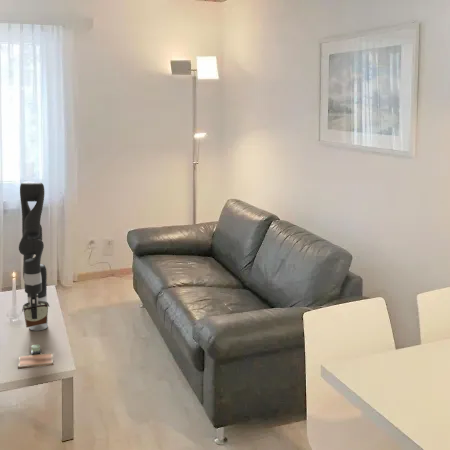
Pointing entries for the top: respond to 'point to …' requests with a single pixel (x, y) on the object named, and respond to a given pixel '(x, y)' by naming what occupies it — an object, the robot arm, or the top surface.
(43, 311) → the food container
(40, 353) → the button base
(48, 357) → the picture board
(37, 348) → the button
